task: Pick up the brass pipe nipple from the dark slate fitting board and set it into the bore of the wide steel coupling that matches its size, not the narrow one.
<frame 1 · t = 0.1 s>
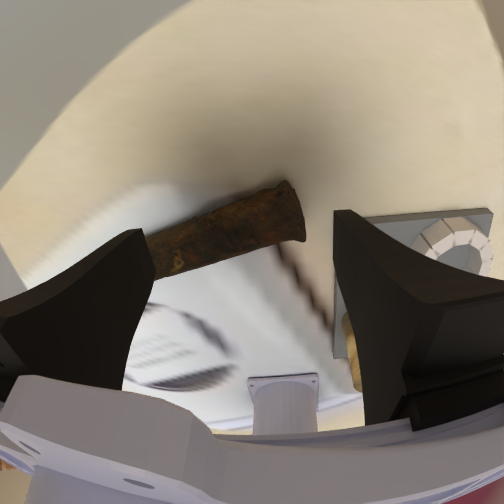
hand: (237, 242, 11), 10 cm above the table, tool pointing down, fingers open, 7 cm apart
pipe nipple: (363, 319, 26), point 1 cm above the table, touching fitting board
hand tool: (183, 240, 24), on the table
fitting board: (409, 288, 25), on the table
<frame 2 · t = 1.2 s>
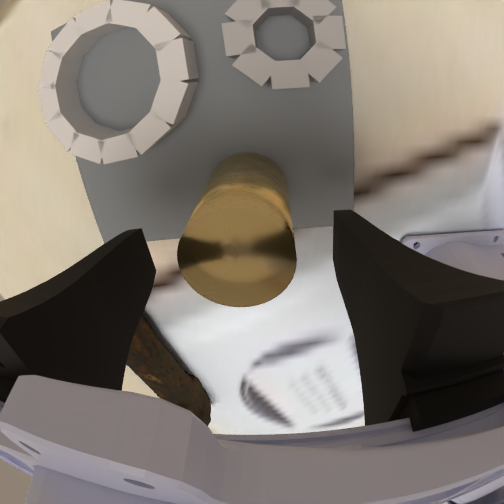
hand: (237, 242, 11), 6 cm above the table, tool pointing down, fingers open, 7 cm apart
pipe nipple: (248, 189, 16), point 1 cm above the table, touching fitting board
hand tool: (168, 347, 25), on the table
fitting board: (199, 107, 14), on the table
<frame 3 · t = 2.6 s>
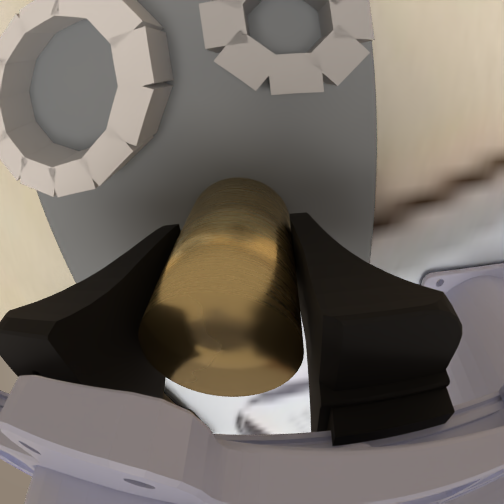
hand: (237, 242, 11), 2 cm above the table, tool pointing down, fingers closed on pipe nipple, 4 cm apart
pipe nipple: (240, 224, 12), point 1 cm above the table, touching fitting board, gripper
fitting board: (176, 118, 11), on the table
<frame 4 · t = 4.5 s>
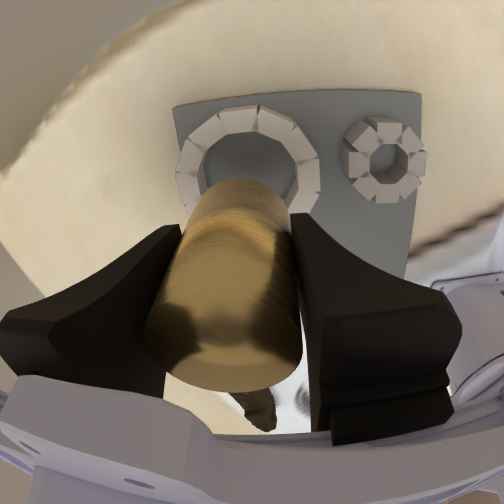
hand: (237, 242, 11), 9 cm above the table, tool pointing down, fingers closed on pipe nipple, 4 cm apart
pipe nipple: (240, 224, 13), point 8 cm above the table, touching gripper
hand tool: (247, 364, 31), on the table
fitting board: (307, 196, 20), on the table
when the fingers open (4 cm above the table, at t = 6.3 s): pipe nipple drops 1 cm, resting on fitting board.
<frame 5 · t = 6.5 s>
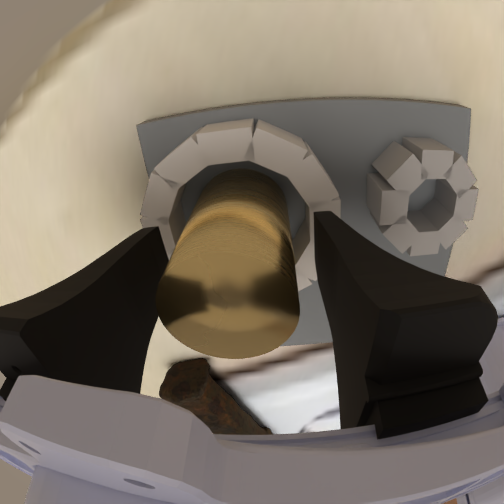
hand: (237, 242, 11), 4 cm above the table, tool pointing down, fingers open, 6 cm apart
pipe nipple: (242, 211, 14), point 1 cm above the table, touching fitting board
hand tool: (245, 408, 27), on the table
fitting board: (319, 238, 16), on the table
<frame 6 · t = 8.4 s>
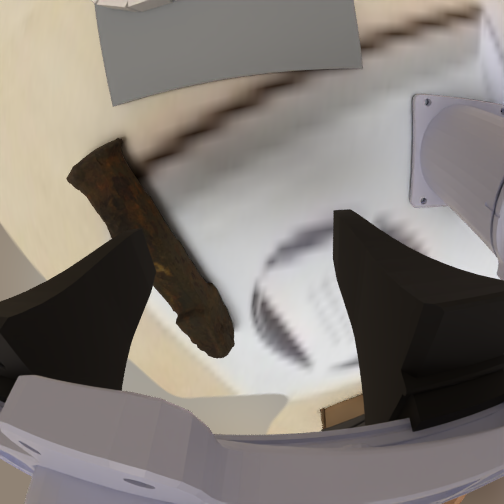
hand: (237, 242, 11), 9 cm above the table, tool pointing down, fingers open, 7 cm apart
dark brown book: (452, 381, 34), on the table
hand tool: (179, 244, 23), on the table
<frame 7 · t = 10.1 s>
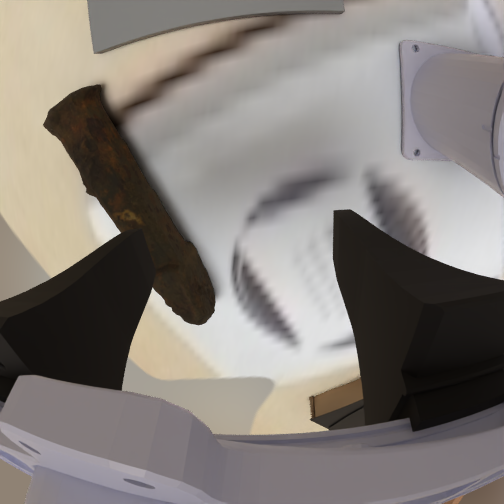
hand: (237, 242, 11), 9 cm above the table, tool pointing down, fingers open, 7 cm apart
dark brown book: (451, 371, 33), on the table
hand tool: (156, 198, 21), on the table
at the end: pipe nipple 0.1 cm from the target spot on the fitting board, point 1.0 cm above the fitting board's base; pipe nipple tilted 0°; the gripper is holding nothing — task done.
